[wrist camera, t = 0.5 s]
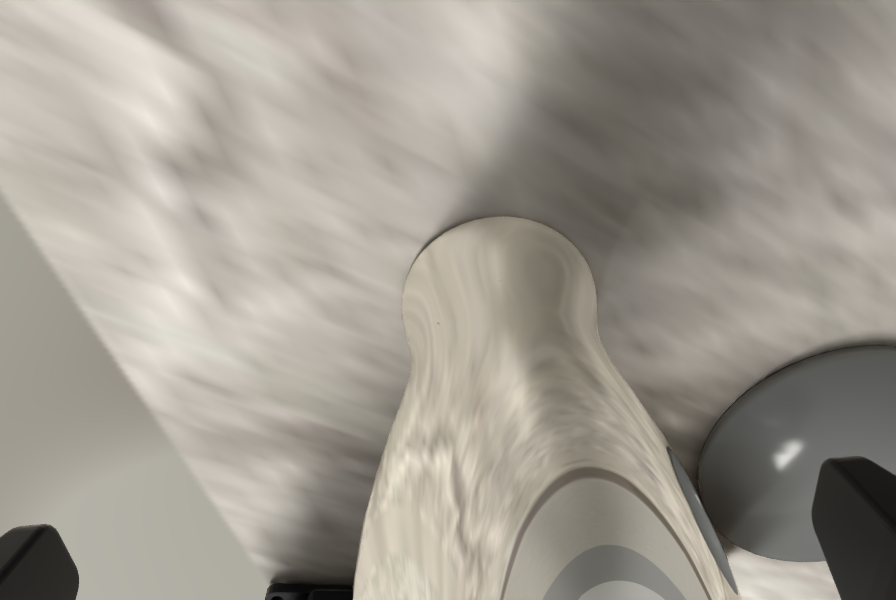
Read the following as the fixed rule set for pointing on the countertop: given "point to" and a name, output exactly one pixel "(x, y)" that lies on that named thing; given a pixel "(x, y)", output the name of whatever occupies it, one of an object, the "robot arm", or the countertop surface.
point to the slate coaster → (796, 447)
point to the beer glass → (525, 444)
